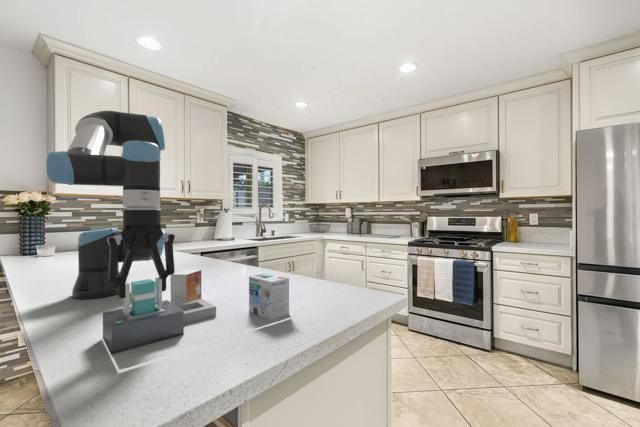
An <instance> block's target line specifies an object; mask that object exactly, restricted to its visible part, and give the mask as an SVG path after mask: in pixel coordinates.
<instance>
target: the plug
mask: <svg viewBox="0 0 640 427" xmlns="http://www.w3.org/2000/svg"><path fill="white" fill-rule="evenodd" d="M130 307H131V309H132V316H137V315H141V314H146V313H151V312H155V280H153V279H150V278H149V279H143V280H136V281H135V280H134V281H130Z"/></svg>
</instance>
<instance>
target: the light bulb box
mask: <svg viewBox="0 0 640 427" xmlns="http://www.w3.org/2000/svg"><path fill="white" fill-rule="evenodd" d="M248 312H250V313H252V314H255V315H257V316H259V317H261V318H265V319H266V320H271V321H272V320H275V319H279V318H282V317H284V316H287V315H290V277H287V276H281V275H278V274H274V273H268V272H265V273H261V274H254V275H249V276H248Z"/></svg>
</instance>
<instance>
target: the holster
mask: <svg viewBox="0 0 640 427" xmlns="http://www.w3.org/2000/svg"><path fill="white" fill-rule="evenodd" d="M175 306H177V307H178V308H180V309H181V310H183V311H184V325H185V324H188V323H192V322H197V321H201V320H205V319H208V318H212V317H216V316H217V306H216V305H214V304H212V303H210V302H209V301H206V300H205V299H202V298H201V299H199V300H194V301H189V302H184V303H179V304H175Z"/></svg>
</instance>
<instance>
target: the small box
mask: <svg viewBox="0 0 640 427" xmlns="http://www.w3.org/2000/svg"><path fill="white" fill-rule="evenodd" d="M199 299H202V269H189V268H188V269H184V270H181V271H178V272H174V274H171V275H170V302H171V303H173V304H174V305H175V304H179V303H184V302H189V301H194V300H199Z"/></svg>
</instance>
